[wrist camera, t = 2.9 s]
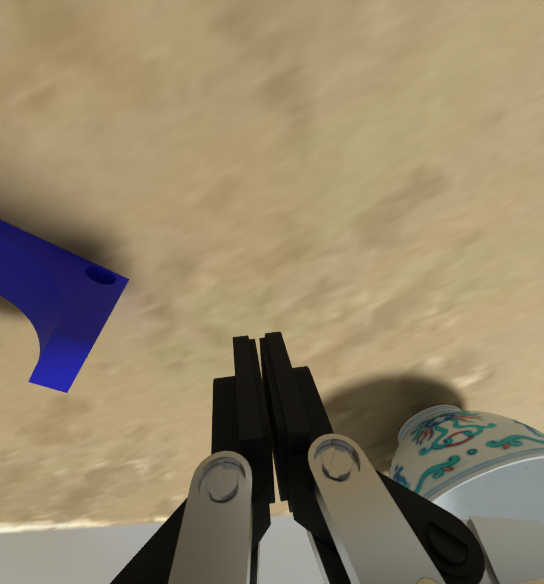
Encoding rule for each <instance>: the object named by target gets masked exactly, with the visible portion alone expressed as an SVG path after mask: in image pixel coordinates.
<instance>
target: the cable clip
mask: <svg viewBox="0 0 544 584" xmlns="http://www.w3.org/2000/svg"><path fill="white" fill-rule="evenodd" d="M128 281H129V279H127V278H125V277H123V276H121V275H119V274H116V273H114V272H112V271H110V270H108V269H105V268H103V267H101V266H99V265H97V264H95V263H92V262H90V261H88V260H86V259H84V258H82V257H79V256H77V255H75V254H73V253H71V252H69V251H66V250H64V249H62V248H60V247H58V246H56V245H53V244H51V243H49V242H47V241H45V240H43V239H40V238H38V237H36V236H34V235H32V234H30V233H27V232H25V231H23V230H21V229H19V228H16V227H14V226H12V225H10V224H8V223H6V222H3V221H1V220H0V295H1V296H2V297H4V298H5V299H7V300H9V301H10V302H11V303H13V304H14V305H15V306H17V307H18V308H19V309H20V310H21V311H22V312H23V313H24V314H25V315H26V316H27V317H28V319H29V320H30V321H31V323H32V324H33V326H34V328H35V330H36V332H37V335H38V338H39V343H40V356H39V361H38V363H37V365H36V367H35V369H34V371H33V373H32V375H31V378H30V380H29V382H31V383H34V384H38V385H41V386H45V387H48V388H52V389H55V390H59V391H62V392H66V393H67V392H68V390H69V389H70V387H71V385H72V383H73V381H74V380H75V378H76V376H77V374H78V372H79V370H80V369H81V367H82V365H83V363H84V361H85V359H86V358H87V356H88V354H89V352H90V350H91V349H92V347H93V345H94V343H95V341H96V339H97V338H98V336H99V334H100V332H101V330H102V328H103V327H104V325H105V323H106V321H107V319H108V317H109V316H110V314H111V312H112V310H113V308H114V306H115V305H116V303H117V301H118V299H119V297H120V295H121V294H122V292H123V290H124V288H125V286H126V284H127V283H128Z"/></svg>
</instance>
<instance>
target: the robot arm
mask: <svg viewBox="0 0 544 584" xmlns="http://www.w3.org/2000/svg"><path fill="white" fill-rule="evenodd" d="M233 349H234V365H235V376H231V377H223V378H216V379H214V380H213V412H212V449H211V455H210V456H208V457H207V458H206V459H205V460H203V461H202V462H201V463H200V465H199V466H198V467H197V469H196V470H195V472H194V475H193V478H192V481H191V485H190V489H189V494H188V497H187V499H186V500H185V501H184V502H183V503H182V504H181V505H180V506H179V507H178V508H177V510H176V511H175V512H174V513H173V514H172V515H171V516H170V517H169V518H168V520H167V521H166V522H165V523H164V524H163V525H162V526H161V527H160V528H159V530H158V531H157V532H156V533H155V534H154V535H153V536H152V537H151V538H150V540H149V541H148V542H147V543H146V544H145V545H144V547H142V548H141V550H140V551H139V552H138V553H137V554H136V555H135V556H134V557H133V558H132V560H131V561H130V562H129V563H128V564H127V565H126V566H125V567H124V569H123V570H122V571H121V572H120V573H119V574H118V575H117V576H116V577H115V578H114V580H113V581H112V582H111V583H110V584H259V557H260V543H259V542H260V540H261V539H262V537H263V535H264V534H265V532H266V531H267V529H268V528H269V526H270V525H271V521H270V508H269V504H270V503H275V492H274V474H273V458H274V464H275V470H276V476H277V483H278V489H279V495H280V500H281V501H286V500H288V506H289V511H290V512H293V516H294V520H295V521H296V522H298V523H299V524H300V525H302V526H303V527H304V528H305V529H306V530H307V534H308V538H309V540H310V543H311V546H312V549H313V552H314V555H315V558H316V560H317V563H318V566H319V569H320V571H321V575H322V577H323V580H324V583H325V584H544V522H542V521H530V520H517V519H504V518H491V517H478V516H470V517H469V519H468V520H467V519H459V518H457V517H456V516H454V515H453V514H452V513H450V512H448V511H447V510H445V509H443V508H441V507H440V506H438V505H436V504H434V503H433V502H431V501H429V500H427V499H426V498H424V497H422V496H420V495H419V494H417V493H415V492H413V491H412V490H410V489H408V488H406V487H405V486H403V485H401V484H399V483H398V482H396V481H394V480H392V479H391V478H389V477H387V476H385V475H384V474H382V473H380V472H378V471H377V470H375V469H374V468H373V466H372V465H371V463H370V461H369V460H368V458H367V457H366V455H365V453H364V452H363V450H362V449H361V448H360V447H359V445H358V444H357V443H356V442H354V441H353V440H352V439H350V438H348V437H346V436H343V435H341V434H334V433H333V430H332V427H331V425H330V422H329V419H328V417H327V414H326V412H325V409H324V406H323V404H322V401H321V398H320V396H319V393H318V391H317V388H316V385H315V383H314V380H313V377H312V375H311V372H310V370H309V368H308V367H307V366H304V367H297V368H292V366H291V363H290V360H289V357H288V353H287V350H286V347H285V344H284V340H283V337H282V334H281V332H272V333H265V338H260V354H261V368H262V378H261V372H260V366H259V360H258V354H257V348H256V343H255V339H249V337H248V335H247V336H239V337H233ZM272 452H273V457H272Z"/></svg>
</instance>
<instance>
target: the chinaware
mask: <svg viewBox="0 0 544 584" xmlns="http://www.w3.org/2000/svg"><path fill="white" fill-rule="evenodd" d="M398 441H399V444H400V445H399V446H398V448H397V450H396V452H395V454H394V457H393V459H392V462H391V466H390V470H389V476H388V477H389V478H391V479H392V480H394V481H396V482H398V483H399V484H401V485H403V486H405V487H406V488H408V489H410V490H412V491H413V492H415V493H417V494H419V495H420V496H422V497H424V498H426V499H427V500H429V501H431V502H433V503H434V504H436V505H438V506H440V507H441V508H443V509H445V510H447V511H448V512H450V513H452V514H453V515H454V516H456V517H457V518H459V519H467V520H468V519H469V517H470V516H478V517H491V518H504V519H517V520H530V521H542V522H544V434H543V433H541V432H539V431H537V430H535V429H533V428H531V427H529V426H527V425H525V424H523V423H521V422H518V421H516V420H513V419H510V418H507V417H504V416H501V415H497V414H492V413H487V412H480V411H462V410H461V409H460V408H458V407H456V406H453V405H437V406H433V407H430V408H427V409H424V410H422V411H420V412H418V413H417V414H415V415H414V416H412V417H411V418H410V419H409V420H408V421H407V422H406V423H405V424H404V425H403V426H402V428H401V429H400V432H399V434H398Z"/></svg>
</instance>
